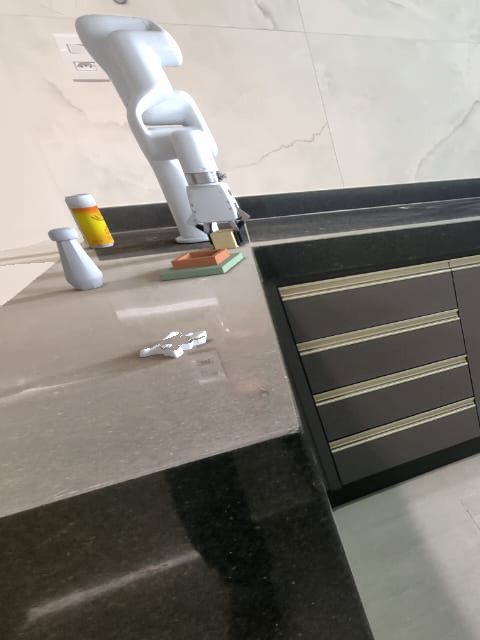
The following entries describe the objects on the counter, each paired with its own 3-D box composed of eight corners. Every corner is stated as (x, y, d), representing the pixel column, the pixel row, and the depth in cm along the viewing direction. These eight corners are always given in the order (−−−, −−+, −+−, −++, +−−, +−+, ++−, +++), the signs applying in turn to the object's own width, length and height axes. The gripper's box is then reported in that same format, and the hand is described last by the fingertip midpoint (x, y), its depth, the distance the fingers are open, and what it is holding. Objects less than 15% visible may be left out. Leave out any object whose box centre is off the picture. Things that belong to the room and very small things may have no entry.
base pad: (188, 264, 133) (182, 250, 132) (243, 258, 137) (238, 244, 136) (162, 280, 120) (155, 265, 118) (224, 273, 123) (218, 258, 122)
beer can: (118, 245, 160) (94, 193, 153) (92, 249, 155) (66, 197, 149) (111, 243, 163) (87, 193, 156) (85, 247, 158) (59, 196, 152)
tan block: (222, 245, 152) (216, 230, 151) (242, 243, 154) (236, 228, 152) (215, 250, 147) (209, 234, 145) (236, 247, 149) (230, 231, 147)
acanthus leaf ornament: (176, 339, 86) (172, 328, 85) (216, 338, 86) (211, 328, 85) (134, 358, 79) (128, 347, 78) (176, 358, 79) (171, 346, 78)
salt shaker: (85, 291, 114) (53, 231, 108) (64, 291, 115) (33, 231, 110) (114, 283, 119) (85, 225, 114) (94, 283, 120) (65, 225, 115)
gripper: (244, 175, 149) (266, 239, 156) (171, 180, 143) (198, 247, 151) (236, 177, 142) (260, 245, 150) (160, 183, 137) (188, 252, 145)
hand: (228, 245), depth 151 cm, fingers closed on tan block, 5 cm apart
